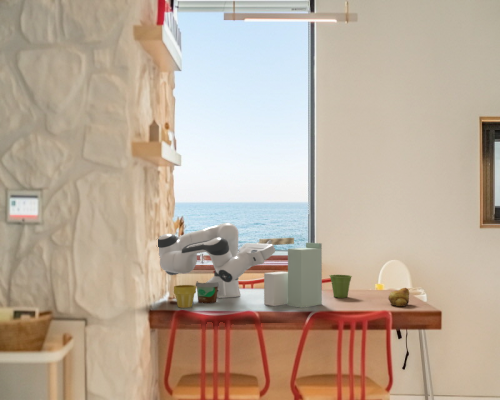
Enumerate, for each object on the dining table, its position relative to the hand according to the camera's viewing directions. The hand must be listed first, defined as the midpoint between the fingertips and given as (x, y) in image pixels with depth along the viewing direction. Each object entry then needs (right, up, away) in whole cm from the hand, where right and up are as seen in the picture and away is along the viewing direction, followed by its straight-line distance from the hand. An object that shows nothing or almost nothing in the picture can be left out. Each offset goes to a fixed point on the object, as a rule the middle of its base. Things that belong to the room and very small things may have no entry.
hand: (267, 241), depth 246 cm
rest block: (+5, -31, +5) cm, 32 cm away
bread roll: (+63, -31, +1) cm, 70 cm away
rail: (+5, -2, +4) cm, 7 cm away
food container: (-30, -31, +8) cm, 44 cm away
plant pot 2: (+40, -32, +25) cm, 57 cm away
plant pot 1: (-39, -31, -3) cm, 50 cm away
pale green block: (+18, -31, +2) cm, 36 cm away
